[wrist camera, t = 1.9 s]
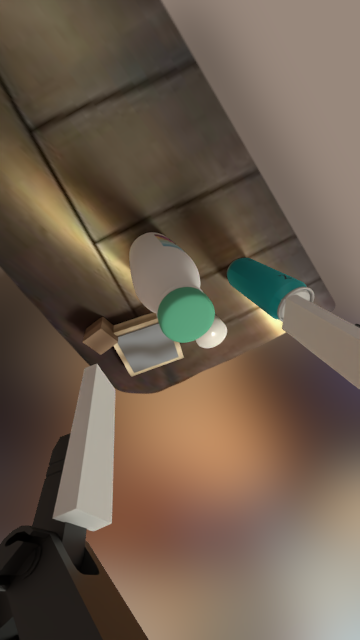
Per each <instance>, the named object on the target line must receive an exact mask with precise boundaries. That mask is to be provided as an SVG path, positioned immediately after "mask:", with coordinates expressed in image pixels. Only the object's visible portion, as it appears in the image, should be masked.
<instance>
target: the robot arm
mask: <svg viewBox="0 0 360 640" xmlns="http://www.w3.org/2000/svg"><path fill="white" fill-rule="evenodd" d="M282 329H283V330H284V331H286V332H287V333H288V334H289V335H291V336H292V337H293V338H295V339H296V340H297V341H298V342H300V343H301V344H302V345H303V346H305V347H306V348H307V349H309V350H310V351H311V352H312V353H314V354H315V355H316V356H317V357H319V358H320V359H321V360H323V361H324V362H325V363H326V364H328V365H329V366H330V367H332V368H333V369H334V370H335V371H337V372H338V373H339V374H340V375H342V376H343V377H344V378H346V379H347V380H348V381H349V382H351V383H352V384H353V385H354V386H356V387H357V388H358V389H360V325H359V324H355V325H353V324H351V323H349V322H347V321H346V320H344V319H342V318H340V317H338V316H336V315H334V314H332V313H330V312H329V311H327V310H325V309H323V308H321V307H319V306H317V305H315V304H313V303H311V302H310V301H308V300H306V299H304V298H302V297H300V296H298V295H293V296H290V297H287V298H286V303H285V310H284V318H283V326H282ZM114 421H115V389H114V387H113V386H112V384H111V383H110V382H109V380H108V379H107V377H106V376H105V374H104V373H103V372H102V370H101V369H100V367H99V366H98V365H97V364H95V365H92V366H90V367H87V368H85V369H84V374H83V378H82V383H81V388H80V393H79V398H78V402H77V406H76V411H75V416H74V420H73V425H72V430H71V433H70V434H67V435H65V436H62V437H60V439H59V441H58V442H57V444H56V446H55V448H54V449H53V452H52V455H51V459H50V463H49V465H50V466H49V467H48V470H47V474H46V479H45V481H44V485H43V488H42V492H41V496H40V500H39V503H38V507H37V511H36V514H35V518H34V522H33V525H32V526H20V527H19V528H17V529H15V530H13V531H12V532H11V533H10V534H9V535H8V536H7V537H6V538H5V539H4V540H3V541H2V543H1V544H0V640H148V638H147V636H146V635H145V633H144V632H143V630H142V628H141V627H140V625H139V624H138V622H137V620H136V619H135V617H134V616H133V614H132V612H131V611H130V609H129V608H128V606H127V604H126V603H125V601H124V600H123V598H122V597H121V595H120V593H119V592H118V590H117V588H116V587H115V585H114V584H113V582H112V580H111V579H110V577H109V576H108V574H107V572H106V571H105V569H104V567H103V566H102V564H101V563H100V561H99V560H98V558H97V556H96V555H95V553H94V551H93V550H92V548H91V547H90V545H89V543H88V542H87V541H85V538H86V529H88V530H91V531H95V530H98V529H100V528H102V527H104V526H106V525H109V524H111V523H112V499H113V458H114Z"/></svg>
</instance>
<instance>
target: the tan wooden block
mask: <svg viewBox="0 0 360 640" xmlns="http://www.w3.org/2000/svg"><path fill="white" fill-rule="evenodd" d="M113 329H114V325H113V324H111V323H110V322H109V321H108V320H107V319H106V318H104V317H103V316H102V317H101V318H100V319H98V320H97V321H96V322H94V323H93V324H92V325H90V326H89V327H88V328H86V331H85V335H84V338H83V343H85V344H86V345H87V346H89V347H90V348H92V349H93V350H95V351H96V352H98V353H99V354H100V355H101V354H103V353H104V352H105V351H107V350H108V349H110V348H111V347H112V346H114V345H115V344H116V343H118V338H117V336H116V335H115V334H114V333H113Z"/></svg>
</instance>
